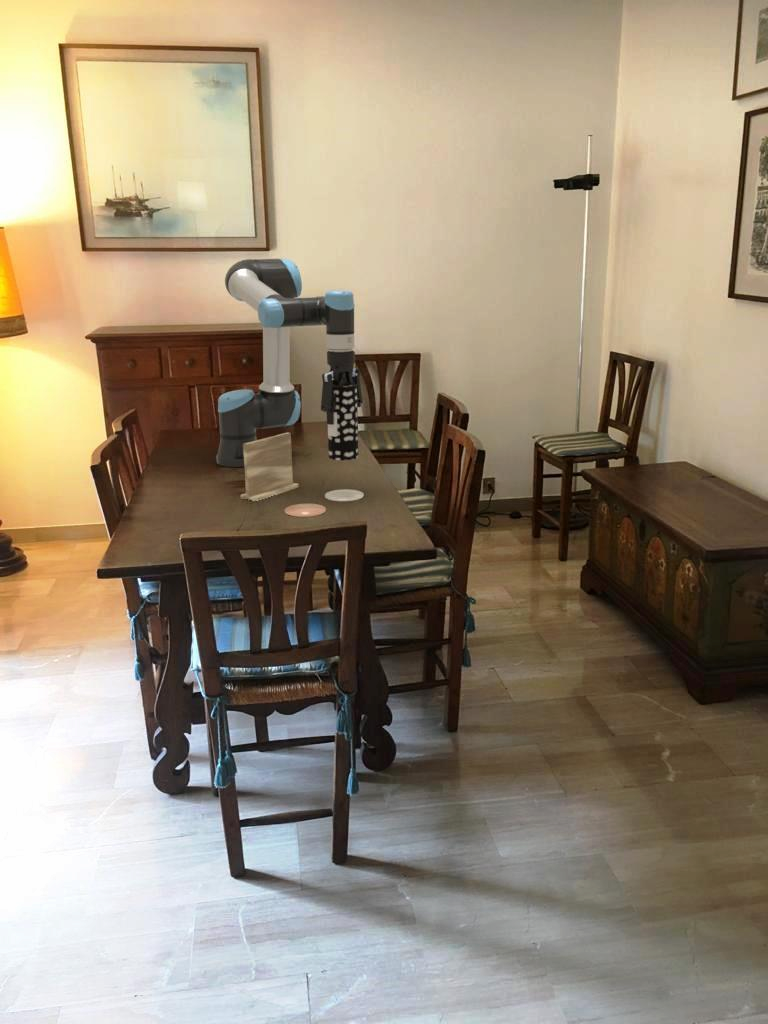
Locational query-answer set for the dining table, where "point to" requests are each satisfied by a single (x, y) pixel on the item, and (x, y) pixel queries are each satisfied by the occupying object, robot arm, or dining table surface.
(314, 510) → the pink round disc
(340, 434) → the spotted tube
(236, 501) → the dining table surface
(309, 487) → the dining table surface
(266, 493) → the birch shelf
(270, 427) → the robot arm
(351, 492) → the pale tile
